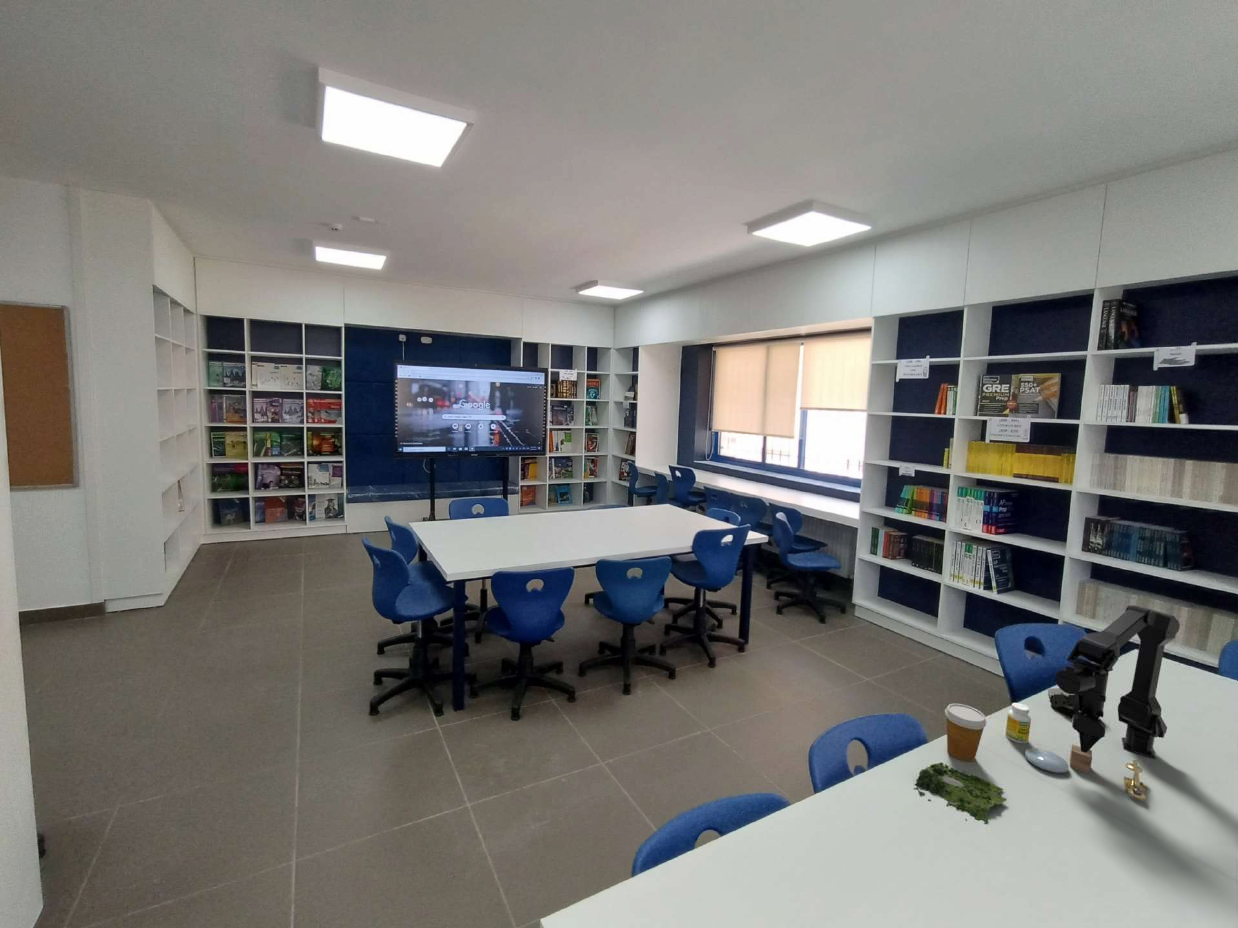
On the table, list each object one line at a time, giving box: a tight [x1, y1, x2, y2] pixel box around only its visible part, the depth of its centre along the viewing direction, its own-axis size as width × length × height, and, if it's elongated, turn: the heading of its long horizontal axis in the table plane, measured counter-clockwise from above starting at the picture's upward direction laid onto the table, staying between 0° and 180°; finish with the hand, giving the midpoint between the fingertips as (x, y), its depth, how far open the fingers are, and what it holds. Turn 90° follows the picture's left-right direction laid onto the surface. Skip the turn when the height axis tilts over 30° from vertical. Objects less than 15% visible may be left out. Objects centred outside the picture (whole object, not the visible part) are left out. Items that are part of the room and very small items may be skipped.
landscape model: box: [913, 762, 1007, 824], centre depth 135 cm, size 17×21×5 cm
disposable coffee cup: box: [944, 703, 987, 763], centre depth 150 cm, size 10×10×12 cm
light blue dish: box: [1024, 747, 1069, 774], centre depth 148 cm, size 9×9×2 cm
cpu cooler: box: [1050, 687, 1076, 720], centre depth 175 cm, size 10×6×10 cm
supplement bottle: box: [1005, 702, 1032, 744], centre depth 159 cm, size 5×5×10 cm
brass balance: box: [1123, 759, 1147, 800], centre depth 140 cm, size 13×4×5 cm, turn 142°
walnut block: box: [1069, 743, 1093, 774], centre depth 148 cm, size 4×4×4 cm
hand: (1083, 743), depth 147 cm, fingers open, 9 cm apart
